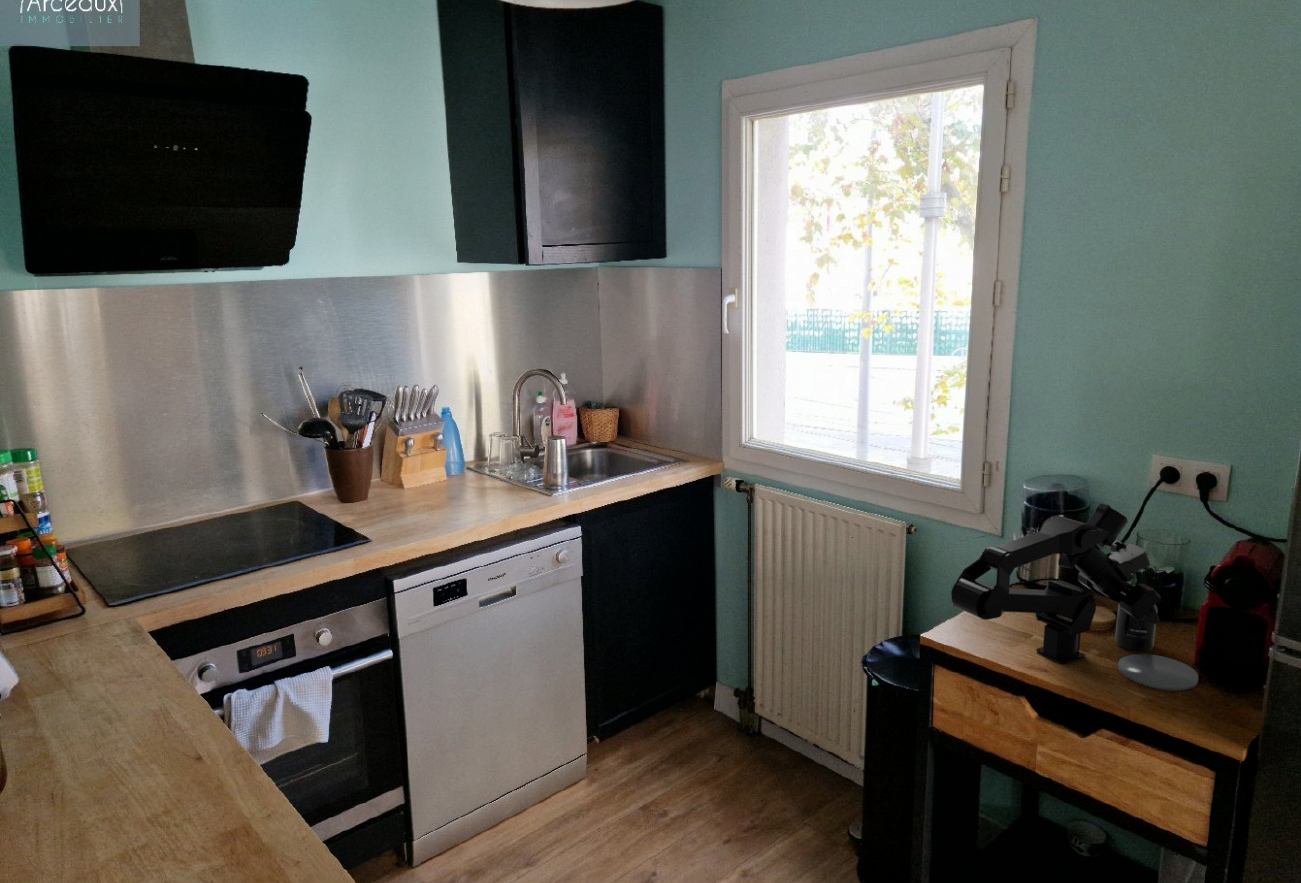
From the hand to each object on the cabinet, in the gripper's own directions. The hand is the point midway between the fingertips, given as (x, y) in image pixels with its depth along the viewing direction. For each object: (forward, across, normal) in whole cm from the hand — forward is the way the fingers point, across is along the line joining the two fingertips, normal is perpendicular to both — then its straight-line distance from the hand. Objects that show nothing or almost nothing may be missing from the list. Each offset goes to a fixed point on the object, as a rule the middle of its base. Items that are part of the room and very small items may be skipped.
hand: (1142, 613), depth 177 cm
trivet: (+2, -12, +8) cm, 14 cm away
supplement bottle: (+4, 0, +6) cm, 7 cm away
